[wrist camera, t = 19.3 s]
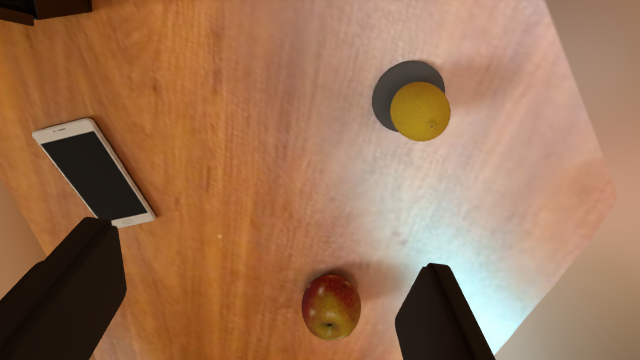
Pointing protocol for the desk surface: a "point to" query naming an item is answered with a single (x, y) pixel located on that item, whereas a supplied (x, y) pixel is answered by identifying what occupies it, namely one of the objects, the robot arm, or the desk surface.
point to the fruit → (331, 307)
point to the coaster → (397, 80)
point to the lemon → (420, 111)
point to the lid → (16, 16)
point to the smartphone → (94, 172)
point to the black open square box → (48, 7)
